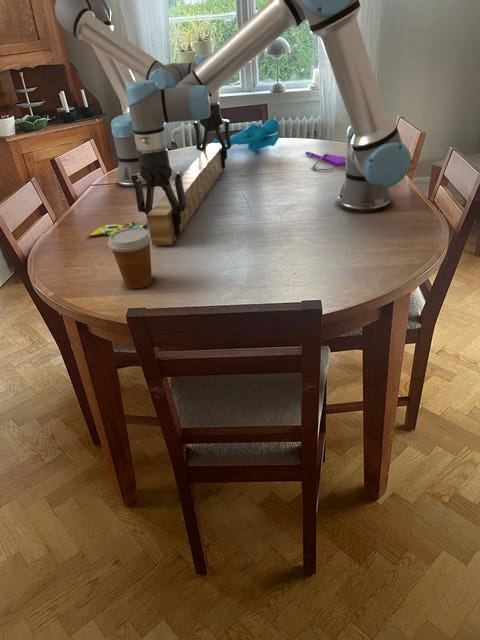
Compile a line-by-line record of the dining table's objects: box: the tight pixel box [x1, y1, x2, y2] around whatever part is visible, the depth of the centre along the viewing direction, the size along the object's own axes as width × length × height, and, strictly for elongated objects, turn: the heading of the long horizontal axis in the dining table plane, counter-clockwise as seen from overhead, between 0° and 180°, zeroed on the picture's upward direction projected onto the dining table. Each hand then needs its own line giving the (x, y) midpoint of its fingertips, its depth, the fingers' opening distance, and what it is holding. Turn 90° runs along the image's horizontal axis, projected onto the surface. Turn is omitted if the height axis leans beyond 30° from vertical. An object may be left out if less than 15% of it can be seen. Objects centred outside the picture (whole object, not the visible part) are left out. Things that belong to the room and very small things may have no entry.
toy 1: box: [88, 221, 148, 238], centre depth 142 cm, size 10×1×15 cm
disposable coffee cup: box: [107, 227, 153, 289], centre depth 110 cm, size 10×10×12 cm
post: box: [146, 143, 227, 246], centre depth 158 cm, size 75×6×8 cm, turn 170°
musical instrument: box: [304, 151, 346, 171], centre depth 185 cm, size 24×2×20 cm
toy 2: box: [210, 118, 280, 153], centre depth 207 cm, size 17×11×30 cm
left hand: (216, 167), depth 186 cm, fingers closed on post, 6 cm apart
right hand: (167, 234), depth 133 cm, fingers closed on post, 6 cm apart
